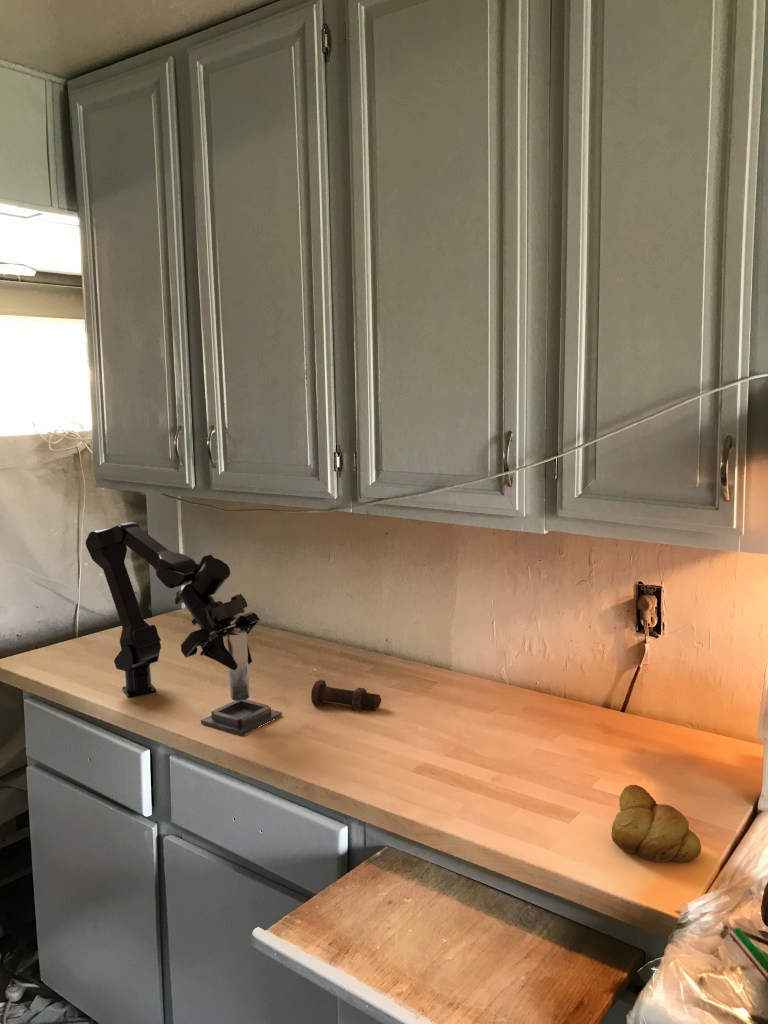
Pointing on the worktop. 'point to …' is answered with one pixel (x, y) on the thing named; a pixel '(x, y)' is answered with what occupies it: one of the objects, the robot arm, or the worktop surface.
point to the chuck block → (241, 716)
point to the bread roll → (652, 828)
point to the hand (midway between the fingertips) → (243, 665)
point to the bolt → (344, 696)
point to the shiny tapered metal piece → (239, 665)
